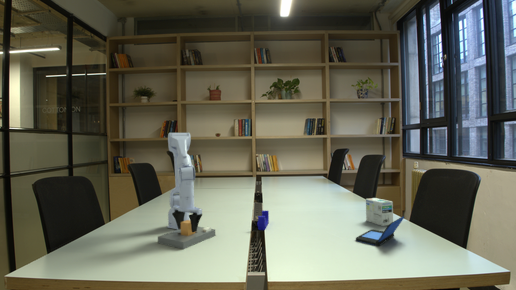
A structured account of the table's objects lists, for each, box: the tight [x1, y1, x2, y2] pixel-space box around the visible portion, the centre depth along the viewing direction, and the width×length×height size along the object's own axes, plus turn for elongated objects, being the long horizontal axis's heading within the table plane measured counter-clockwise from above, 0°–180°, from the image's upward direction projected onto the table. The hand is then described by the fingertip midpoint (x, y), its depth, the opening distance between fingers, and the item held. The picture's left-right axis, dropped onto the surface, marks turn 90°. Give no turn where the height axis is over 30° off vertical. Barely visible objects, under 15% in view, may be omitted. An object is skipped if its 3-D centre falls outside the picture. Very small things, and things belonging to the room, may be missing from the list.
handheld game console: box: [355, 216, 405, 247], centre depth 113 cm, size 16×13×9 cm
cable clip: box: [256, 210, 270, 231], centre depth 135 cm, size 12×4×6 cm, turn 170°
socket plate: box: [157, 226, 216, 250], centre depth 118 cm, size 14×18×4 cm
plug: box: [181, 219, 195, 236], centre depth 118 cm, size 4×4×7 cm
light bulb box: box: [365, 197, 394, 227], centre depth 137 cm, size 11×7×11 cm, turn 22°
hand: (187, 230), depth 118 cm, fingers open, 7 cm apart
